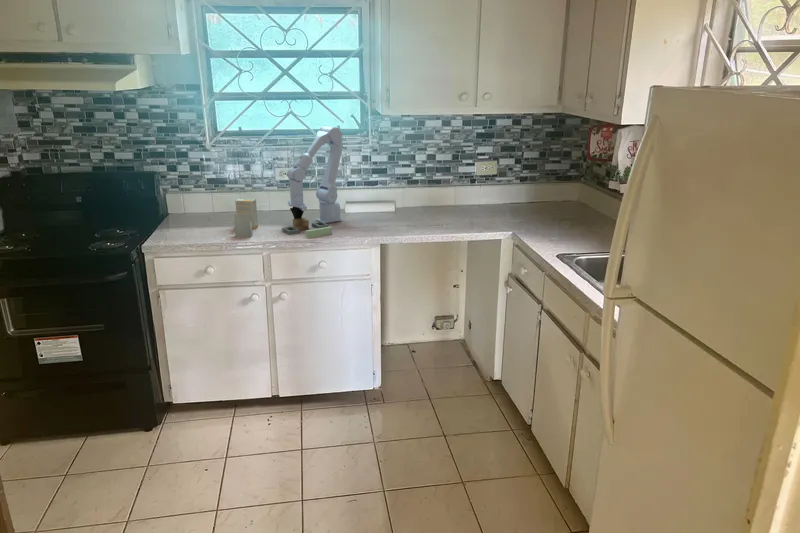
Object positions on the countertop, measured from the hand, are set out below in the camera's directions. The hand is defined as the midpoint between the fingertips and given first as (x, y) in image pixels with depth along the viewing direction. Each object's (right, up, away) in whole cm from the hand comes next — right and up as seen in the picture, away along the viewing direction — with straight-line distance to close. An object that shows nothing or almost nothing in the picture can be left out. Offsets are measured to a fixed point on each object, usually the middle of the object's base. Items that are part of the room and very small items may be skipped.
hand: (298, 223), depth 278 cm
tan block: (+2, -3, -3) cm, 4 cm away
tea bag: (-21, -7, -16) cm, 27 cm away
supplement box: (-22, -2, -3) cm, 23 cm away
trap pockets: (+7, -5, -9) cm, 12 cm away
